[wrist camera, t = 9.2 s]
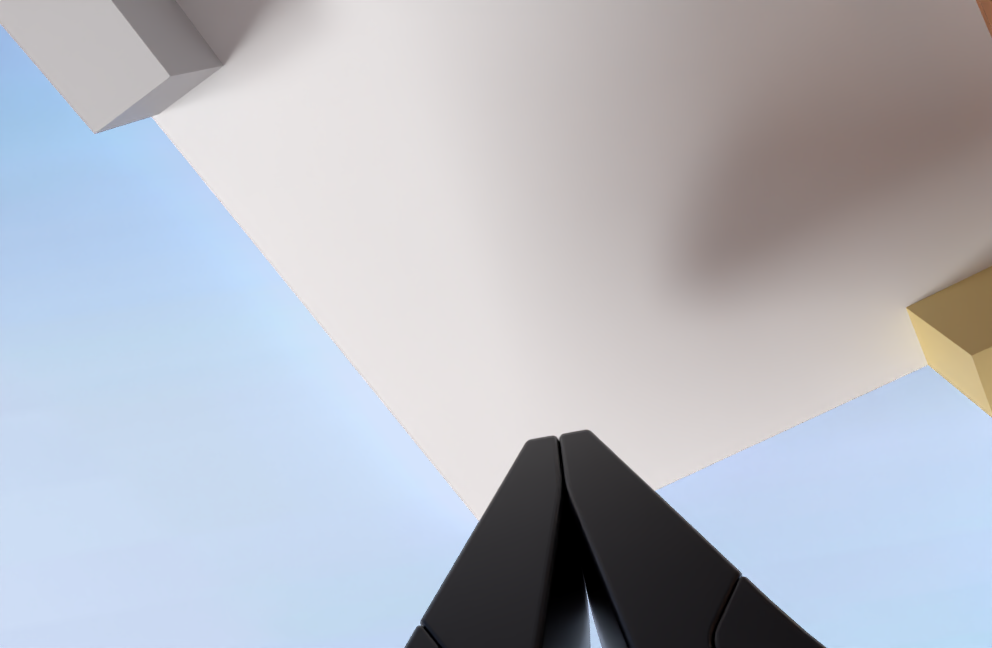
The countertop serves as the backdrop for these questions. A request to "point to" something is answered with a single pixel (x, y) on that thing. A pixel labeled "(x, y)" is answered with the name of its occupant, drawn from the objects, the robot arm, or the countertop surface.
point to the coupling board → (583, 199)
